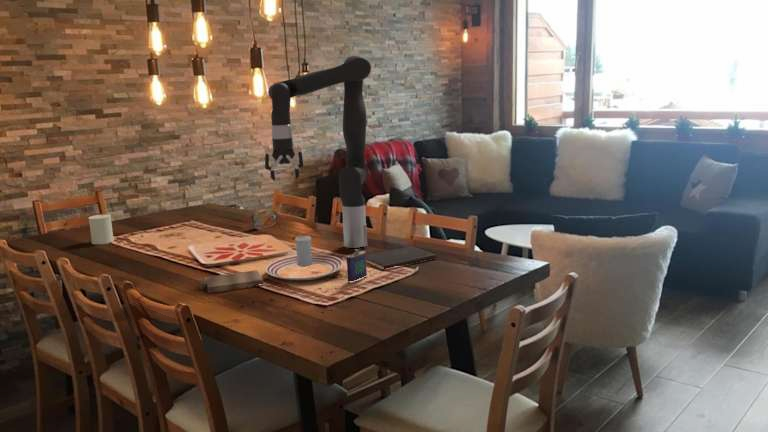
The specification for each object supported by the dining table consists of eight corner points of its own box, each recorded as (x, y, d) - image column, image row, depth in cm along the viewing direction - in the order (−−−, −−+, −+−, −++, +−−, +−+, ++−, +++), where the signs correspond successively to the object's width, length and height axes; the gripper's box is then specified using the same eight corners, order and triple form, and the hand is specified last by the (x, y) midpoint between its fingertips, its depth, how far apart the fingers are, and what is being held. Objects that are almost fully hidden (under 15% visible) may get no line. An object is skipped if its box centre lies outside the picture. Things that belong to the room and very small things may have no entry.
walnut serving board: (257, 275, 230) (256, 270, 229) (263, 285, 219) (263, 279, 218) (198, 283, 223) (197, 278, 222) (201, 294, 212) (201, 288, 211)
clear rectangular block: (254, 231, 297) (253, 213, 295) (249, 230, 299) (248, 212, 297) (278, 224, 309) (277, 207, 307) (273, 224, 311) (272, 206, 309)
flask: (362, 275, 226) (361, 245, 223) (369, 276, 224) (368, 246, 221) (345, 282, 218) (344, 251, 216) (352, 284, 217) (351, 253, 214)
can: (118, 239, 292) (114, 213, 289) (107, 244, 283) (104, 217, 280) (98, 239, 293) (95, 213, 290) (87, 244, 284) (83, 217, 281)
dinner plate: (322, 288, 214) (322, 279, 213) (251, 282, 224) (250, 272, 223) (355, 265, 239) (355, 256, 238) (290, 260, 248) (289, 252, 248)
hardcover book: (361, 262, 243) (361, 256, 243) (412, 251, 255) (412, 246, 255) (384, 272, 230) (383, 266, 230) (436, 260, 242) (436, 254, 241)
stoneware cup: (312, 261, 233) (310, 234, 231) (312, 266, 228) (311, 238, 226) (296, 262, 233) (295, 235, 231) (296, 267, 227) (295, 239, 225)
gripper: (264, 138, 239) (267, 182, 242) (302, 136, 242) (305, 179, 246) (262, 137, 246) (265, 179, 249) (299, 135, 249) (302, 176, 253)
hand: (285, 179), depth 247 cm, fingers open, 8 cm apart
